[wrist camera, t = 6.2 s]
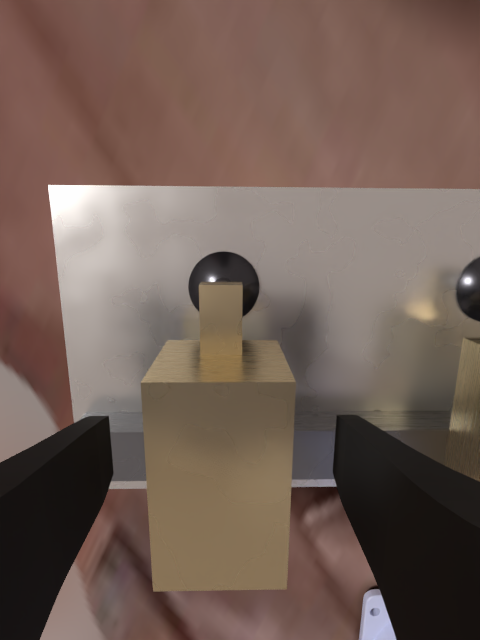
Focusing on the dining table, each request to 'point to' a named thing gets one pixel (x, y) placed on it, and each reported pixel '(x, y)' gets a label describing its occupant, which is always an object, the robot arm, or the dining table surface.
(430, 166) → the dining table surface
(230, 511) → the leg
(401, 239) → the plate
